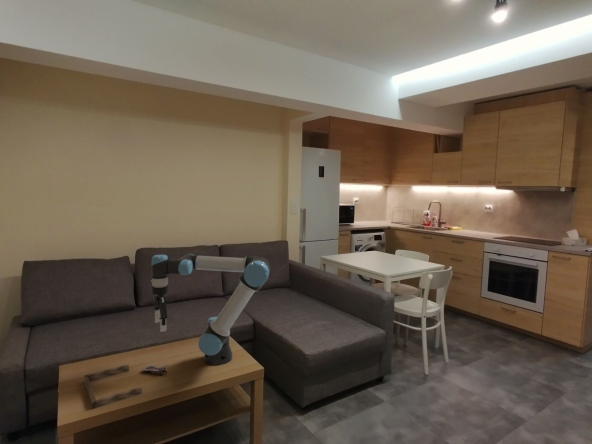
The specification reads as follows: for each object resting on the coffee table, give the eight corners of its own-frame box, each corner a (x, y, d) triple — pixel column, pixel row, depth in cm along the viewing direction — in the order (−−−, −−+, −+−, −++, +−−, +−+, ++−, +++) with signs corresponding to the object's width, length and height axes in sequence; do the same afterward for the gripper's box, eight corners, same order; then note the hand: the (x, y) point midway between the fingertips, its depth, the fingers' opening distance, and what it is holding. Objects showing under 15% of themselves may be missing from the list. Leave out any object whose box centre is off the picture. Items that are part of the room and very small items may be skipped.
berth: (128, 369, 180) (128, 364, 180) (141, 394, 159) (141, 388, 159) (84, 381, 169) (83, 375, 168) (92, 410, 147) (92, 403, 147)
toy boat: (139, 371, 178) (140, 363, 178) (147, 367, 183) (148, 359, 183) (161, 376, 174) (161, 368, 173) (168, 372, 179) (169, 364, 179)
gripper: (147, 280, 185) (148, 320, 187) (156, 292, 164) (157, 336, 166) (162, 279, 189) (163, 317, 191) (173, 290, 168) (174, 333, 170)
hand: (160, 326), depth 179 cm, fingers open, 13 cm apart
